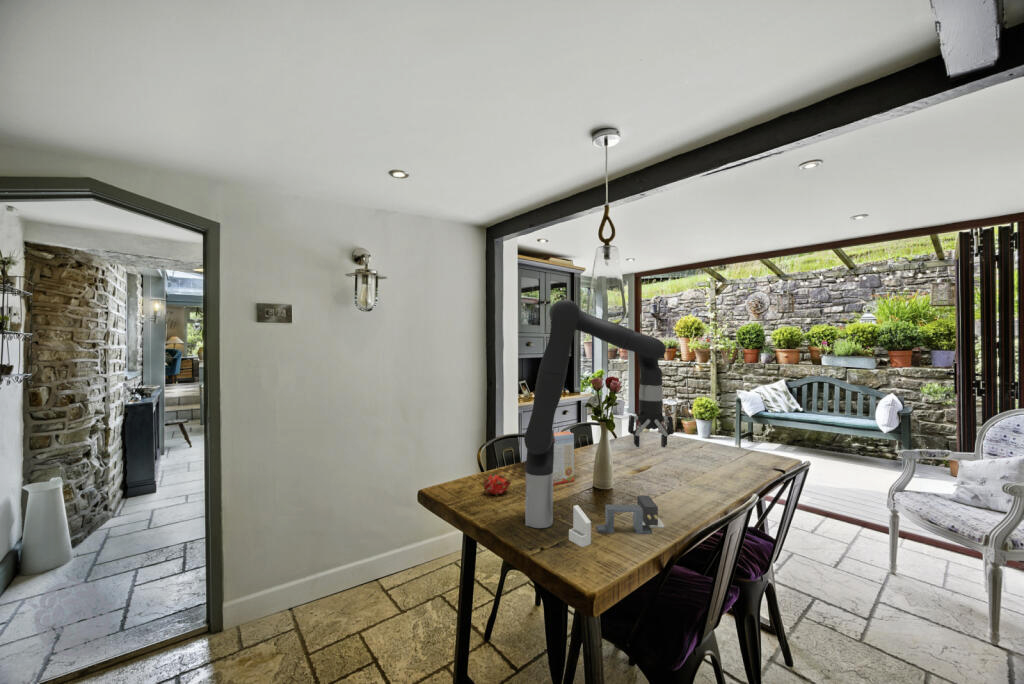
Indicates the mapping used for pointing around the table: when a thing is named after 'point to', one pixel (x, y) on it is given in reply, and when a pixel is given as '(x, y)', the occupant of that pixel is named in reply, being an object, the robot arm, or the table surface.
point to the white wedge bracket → (580, 528)
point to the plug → (648, 510)
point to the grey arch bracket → (636, 510)
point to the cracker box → (563, 457)
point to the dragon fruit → (496, 484)
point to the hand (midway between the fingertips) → (650, 446)
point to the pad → (660, 525)
